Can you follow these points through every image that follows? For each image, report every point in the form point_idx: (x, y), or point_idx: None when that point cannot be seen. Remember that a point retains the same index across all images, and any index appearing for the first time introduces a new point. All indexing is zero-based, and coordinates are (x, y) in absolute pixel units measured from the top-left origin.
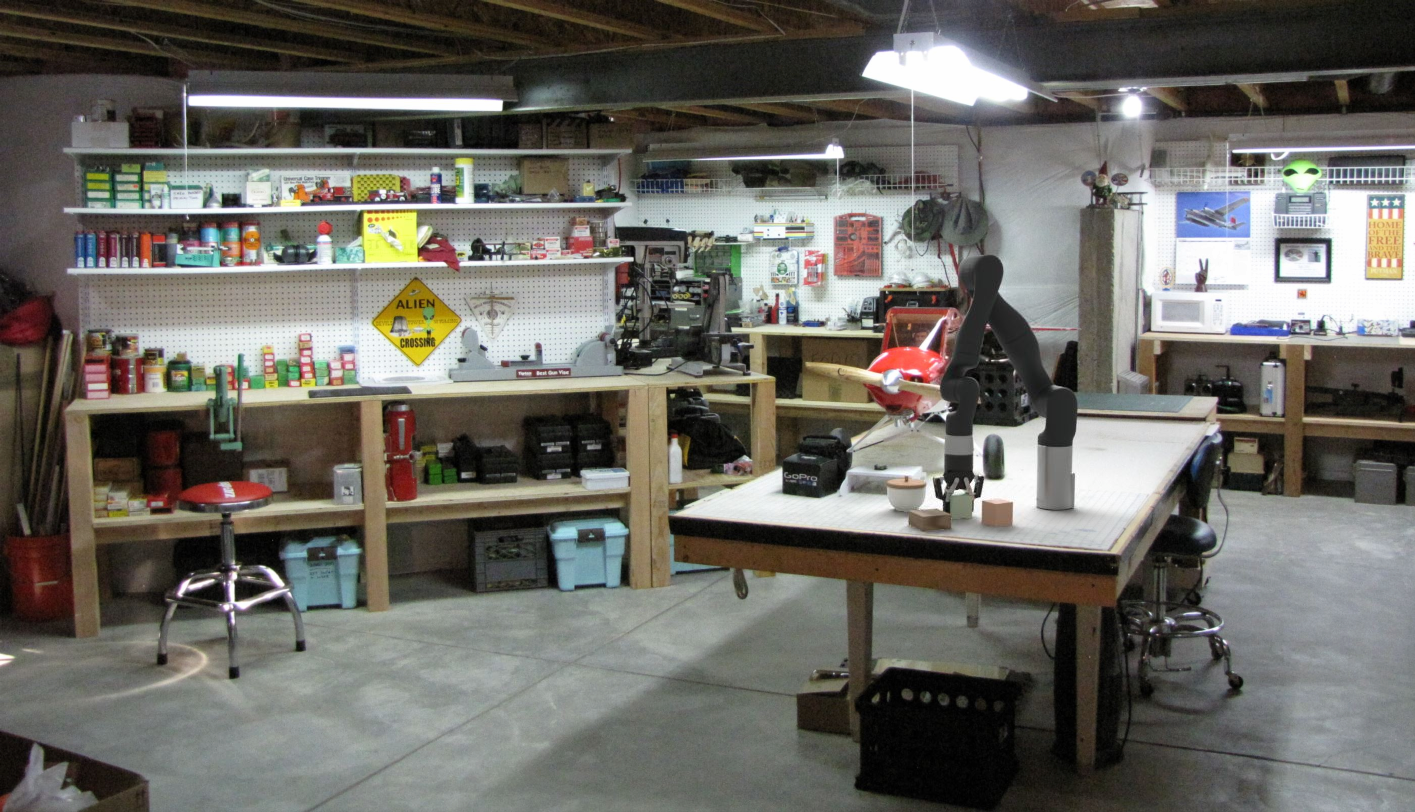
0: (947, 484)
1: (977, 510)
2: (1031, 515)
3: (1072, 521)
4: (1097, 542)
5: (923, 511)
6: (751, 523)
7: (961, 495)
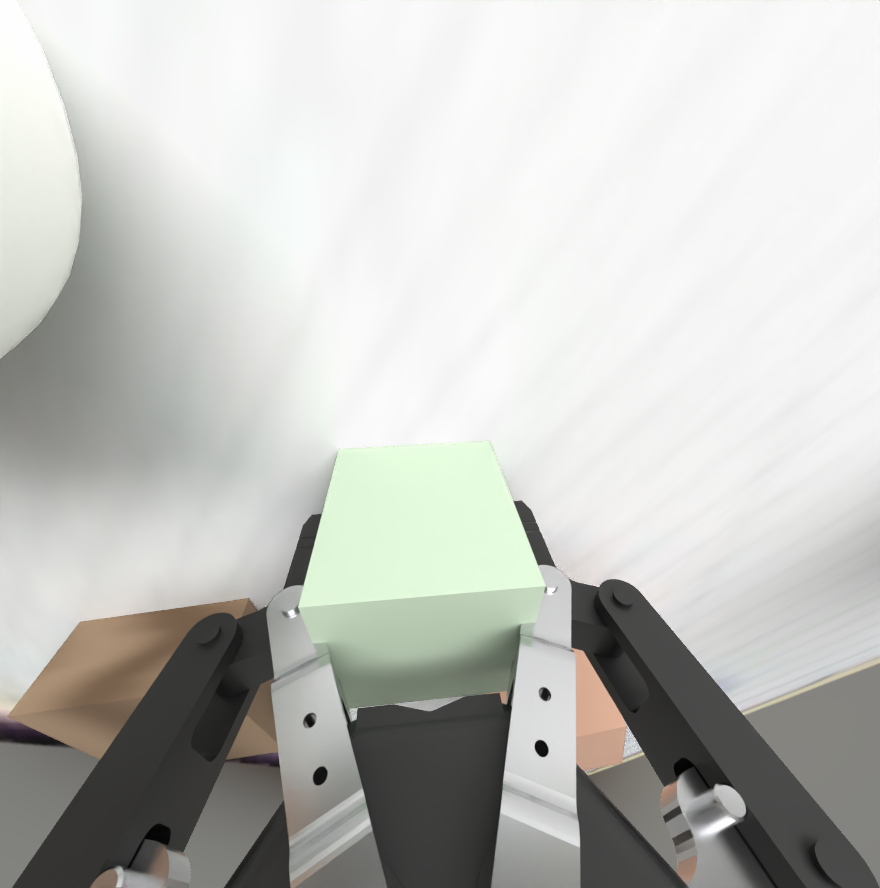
0: (282, 811)
1: (663, 343)
2: (800, 527)
3: (808, 619)
4: (624, 746)
5: (123, 725)
6: None
7: (434, 683)
